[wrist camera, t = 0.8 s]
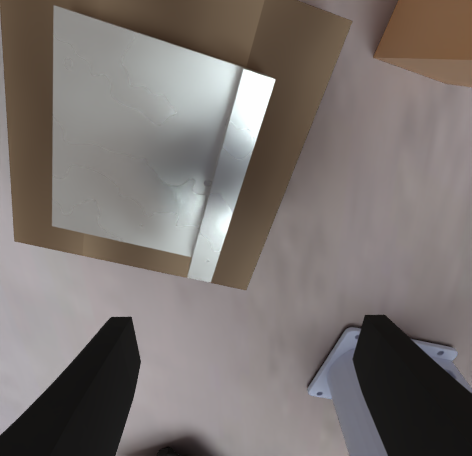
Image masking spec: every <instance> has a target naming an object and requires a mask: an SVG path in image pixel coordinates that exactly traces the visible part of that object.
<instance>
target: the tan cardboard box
mask: <svg viewBox="0 0 472 456" xmlns="http://www.w3.org/2000/svg"><path fill="white" fill-rule="evenodd" d="M373 58H376V59H379V60H381V61H384V62H387V63H390V64H392V65H395V66H398V67H401V68H404V69H406V70H409V71H412V72H415V73H418V74H420V75H423V76H426V77H429V78H431V79H434V80H437V81H440V82H443V83H445V84H451V85H459V86H466V87H472V0H398V2H397V5H396V7H395V9H394V11H393V14H392V16H391V18H390V20H389V23H388V25H387V27H386V29H385V32H384V34H383V36H382V38H381V41H380V43H379V45H378V47H377V50H376V52H375V54H374V56H373Z"/></svg>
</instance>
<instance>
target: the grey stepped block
mask: <svg viewBox="0 0 472 456" xmlns="http://www.w3.org/2000/svg"><path fill="white" fill-rule="evenodd" d="M275 80H276V79H274V78H272V77H270V76H268V75H266V74H264V73H261V72H258V71H255V70H252V69H249V68H246V67H243V66H240V65H237V64H234V63H231V62H228V61H225V60H222V59H219V58H216V57H212V56H209V55H206V54H203V53H200V52H197V51H194V50H191V49H188V48H185V47H182V46H179V45H176V44H173V43H170V42H167V41H164V40H161V39H158V38H155V37H152V36H149V35H146V34H143V33H140V32H137V31H134V30H131V29H128V28H124V27H121V26H118V25H115V24H112V23H109V22H106V21H103V20H100V19H97V18H94V17H91V16H88V15H85V14H82V13H79V12H76V11H73V10H69V9H65V8H62V7H58V6H55V5H54V15H53V156H52V226H54V227H58V228H63V229H67V230H72V231H76V232H81V233H85V234H90V235H94V236H99V237H103V238H108V239H112V240H117V241H121V242H126V243H130V244H135V245H139V246H144V247H148V248H153V249H157V250H161V251H166V252H170V253H175V254H179V255H184V256H188V257H191V259H190V264H189V270H188V275H187V278H191V279H195V280H200V281H205V282H210V283H211V280H212V277H213V274H214V271H215V267H216V264H217V261H218V258H219V255H220V252H221V249H222V245H223V242H224V239H225V236H226V233H227V230H228V227H229V224H230V220H231V217H232V214H233V211H234V208H235V205H236V202H237V199H238V195H239V192H240V189H241V186H242V183H243V180H244V177H245V174H246V170H247V167H248V164H249V161H250V158H251V155H252V152H253V148H254V145H255V142H256V139H257V136H258V133H259V130H260V127H261V123H262V120H263V117H264V114H265V111H266V108H267V105H268V102H269V98H270V95H271V92H272V89H273V86H274V83H275Z"/></svg>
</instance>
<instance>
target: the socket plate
mask: <svg viewBox="0 0 472 456" xmlns="http://www.w3.org/2000/svg"><path fill="white" fill-rule="evenodd" d="M54 5H55V6H58V7H62V8H65V9H69V10H73V11H76V12H79V13H82V14H85V15H88V16H91V17H94V18H97V19H100V20H103V21H106V22H109V23H112V24H115V25H118V26H121V27H124V28H128V29H131V30H134V31H137V32H140V33H143V34H146V35H149V36H152V37H155V38H158V39H161V40H164V41H167V42H170V43H173V44H176V45H179V46H182V47H185V48H188V49H191V50H194V51H197V52H200V53H203V54H206V55H209V56H212V57H216V58H219V59H222V60H225V61H228V62H231V63H234V64H237V65H240V66H243V67H246V68H249V69H252V70H255V71H258V72H261V73H264V74H266V75H268V76H270V77H272V78H274V79H276V80H275V83H274V86H273V89H272V92H271V95H270V98H269V102H268V105H267V108H266V111H265V114H264V117H263V120H262V123H261V127H260V130H259V133H258V136H257V139H256V142H255V145H254V148H253V152H252V155H251V158H250V161H249V164H248V167H247V170H246V174H245V177H244V180H243V183H242V186H241V189H240V192H239V195H238V199H237V202H236V205H235V208H234V211H233V214H232V217H231V220H230V224H229V227H228V230H227V233H226V236H225V239H224V242H223V245H222V249H221V252H220V255H219V258H218V261H217V264H216V267H215V271H214V274H213V277H212V280H211V283H214V284H219V285H223V286H228V287H233V288H238V289H242V290H246V289H247V287H248V284H249V282H250V279H251V277H252V274H253V272H254V269H255V267H256V264H257V262H258V259H259V257H260V254H261V251H262V249H263V246H264V244H265V241H266V239H267V236H268V234H269V231H270V229H271V226H272V224H273V221H274V219H275V216H276V213H277V211H278V208H279V206H280V203H281V201H282V198H283V196H284V193H285V191H286V188H287V186H288V183H289V181H290V178H291V176H292V173H293V170H294V168H295V165H296V163H297V160H298V158H299V155H300V153H301V150H302V148H303V145H304V143H305V140H306V138H307V135H308V133H309V130H310V127H311V125H312V122H313V120H314V117H315V115H316V112H317V110H318V107H319V105H320V102H321V100H322V97H323V95H324V92H325V90H326V87H327V84H328V82H329V79H330V77H331V74H332V72H333V69H334V67H335V64H336V62H337V59H338V57H339V54H340V52H341V49H342V46H343V44H344V41H345V39H346V36H347V34H348V31H349V29H350V26H351V24H352V21H351V20H348V19H346V18H343V17H340V16H338V15H335V14H332V13H330V12H327V11H324V10H322V9H319V8H316V7H314V6H311V5H308V4H306V3H303V2H300V1H298V0H0V13H1V30H2V46H3V63H4V79H5V95H6V112H7V128H8V144H9V161H10V177H11V194H12V210H13V226H14V241H15V242H20V243H25V244H30V245H34V246H39V247H44V248H49V249H53V250H58V251H63V252H67V253H72V254H77V255H82V256H86V257H91V258H96V259H101V260H105V261H110V262H115V263H119V264H124V265H129V266H134V267H138V268H143V269H148V270H153V271H157V272H162V273H167V274H171V275H176V276H181V277H186V278H187V275H188V270H189V264H190V259H191V257H188V256H184V255H179V254H175V253H170V252H166V251H161V250H157V249H153V248H148V247H144V246H139V245H135V244H130V243H126V242H121V241H117V240H112V239H108V238H103V237H99V236H94V235H90V234H85V233H81V232H76V231H72V230H67V229H63V228H58V227H54V226H52V156H53V15H54ZM190 279H191V278H190ZM209 283H210V282H209Z"/></svg>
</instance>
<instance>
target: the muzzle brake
mask: <svg viewBox="0 0 472 456" xmlns="http://www.w3.org/2000/svg"><path fill="white" fill-rule="evenodd" d="M156 456H180V455H178V454H177V453H176V452H175V451H174V450H173V449H172V448H170V447H169V448H165V449H162V450H159V452H158V454H157V455H156Z"/></svg>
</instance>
